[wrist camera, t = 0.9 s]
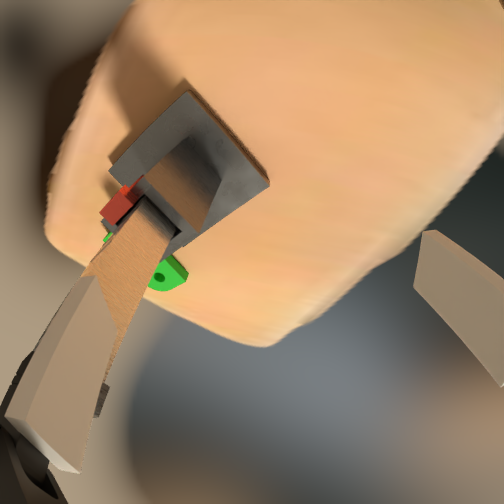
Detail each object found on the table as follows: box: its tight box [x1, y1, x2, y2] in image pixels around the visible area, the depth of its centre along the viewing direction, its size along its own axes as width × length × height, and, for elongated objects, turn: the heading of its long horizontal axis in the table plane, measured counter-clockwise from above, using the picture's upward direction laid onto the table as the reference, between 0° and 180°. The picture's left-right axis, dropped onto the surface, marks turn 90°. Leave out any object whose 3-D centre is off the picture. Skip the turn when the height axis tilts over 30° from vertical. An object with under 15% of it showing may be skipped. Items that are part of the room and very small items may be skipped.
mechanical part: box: [103, 231, 189, 291], centre depth 39 cm, size 12×6×8 cm, turn 34°
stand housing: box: [99, 90, 270, 263], centre depth 29 cm, size 14×14×14 cm
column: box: [33, 195, 177, 418], centre depth 22 cm, size 7×4×28 cm, turn 129°
